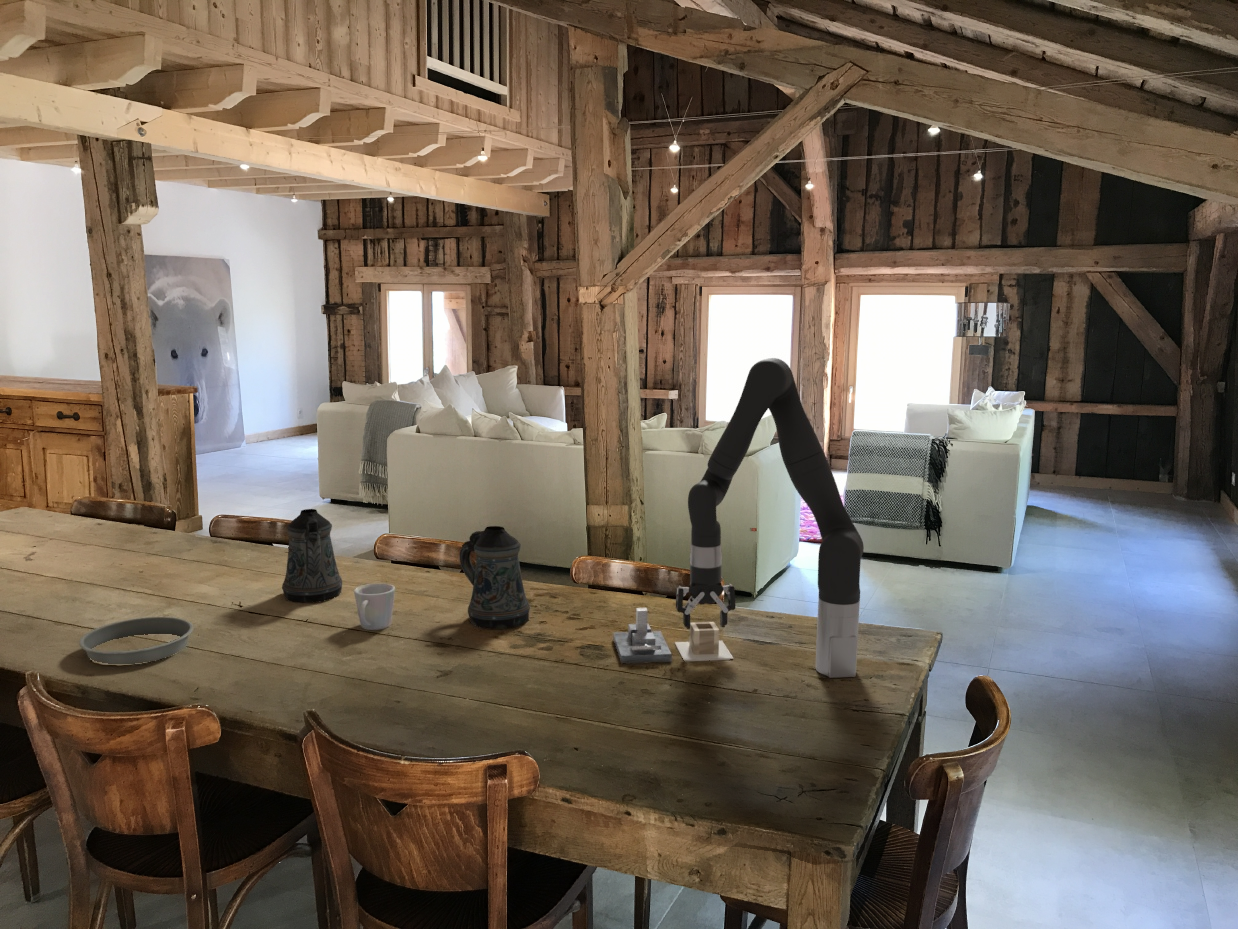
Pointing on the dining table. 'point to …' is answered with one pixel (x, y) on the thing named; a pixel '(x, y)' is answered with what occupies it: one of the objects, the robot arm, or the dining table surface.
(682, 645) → the mat
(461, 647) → the dining table surface
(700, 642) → the sleeve
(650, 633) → the vise
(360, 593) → the mug
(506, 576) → the beer stein
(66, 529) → the dining table surface
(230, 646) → the dining table surface
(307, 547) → the dark grey patterned jug
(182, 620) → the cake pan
